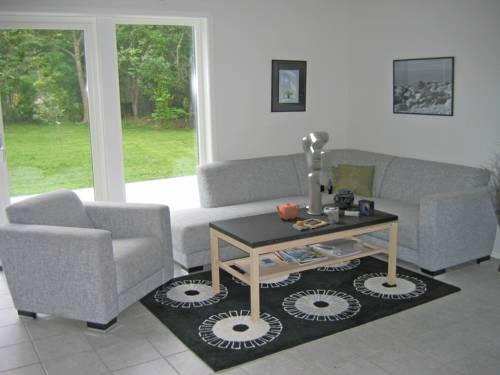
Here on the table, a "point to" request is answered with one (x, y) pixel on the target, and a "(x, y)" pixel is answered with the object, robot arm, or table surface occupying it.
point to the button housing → (300, 227)
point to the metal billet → (333, 216)
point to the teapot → (288, 211)
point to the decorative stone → (343, 198)
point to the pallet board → (314, 223)
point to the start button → (300, 223)
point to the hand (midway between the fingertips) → (326, 193)
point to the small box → (366, 207)
